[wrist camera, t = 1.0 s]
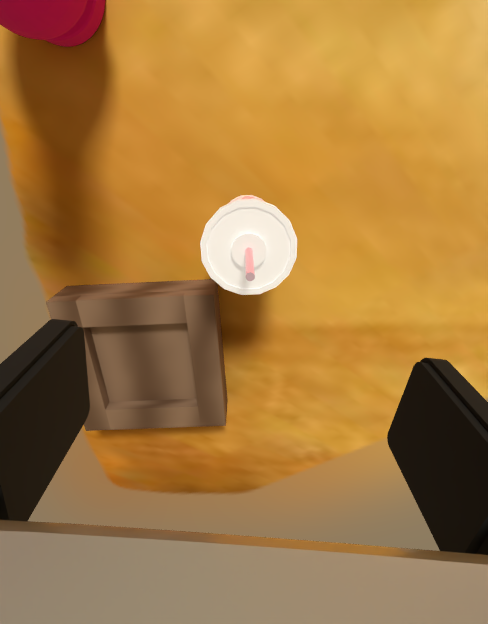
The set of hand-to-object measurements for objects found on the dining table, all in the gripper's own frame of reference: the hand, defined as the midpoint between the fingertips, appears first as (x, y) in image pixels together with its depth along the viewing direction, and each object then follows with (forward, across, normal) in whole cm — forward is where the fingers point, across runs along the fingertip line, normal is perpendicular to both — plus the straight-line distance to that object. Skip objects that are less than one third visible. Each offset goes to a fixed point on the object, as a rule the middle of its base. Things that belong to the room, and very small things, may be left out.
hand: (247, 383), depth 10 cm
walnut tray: (+23, +8, +13) cm, 27 cm away
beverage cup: (+22, 0, 0) cm, 23 cm away
